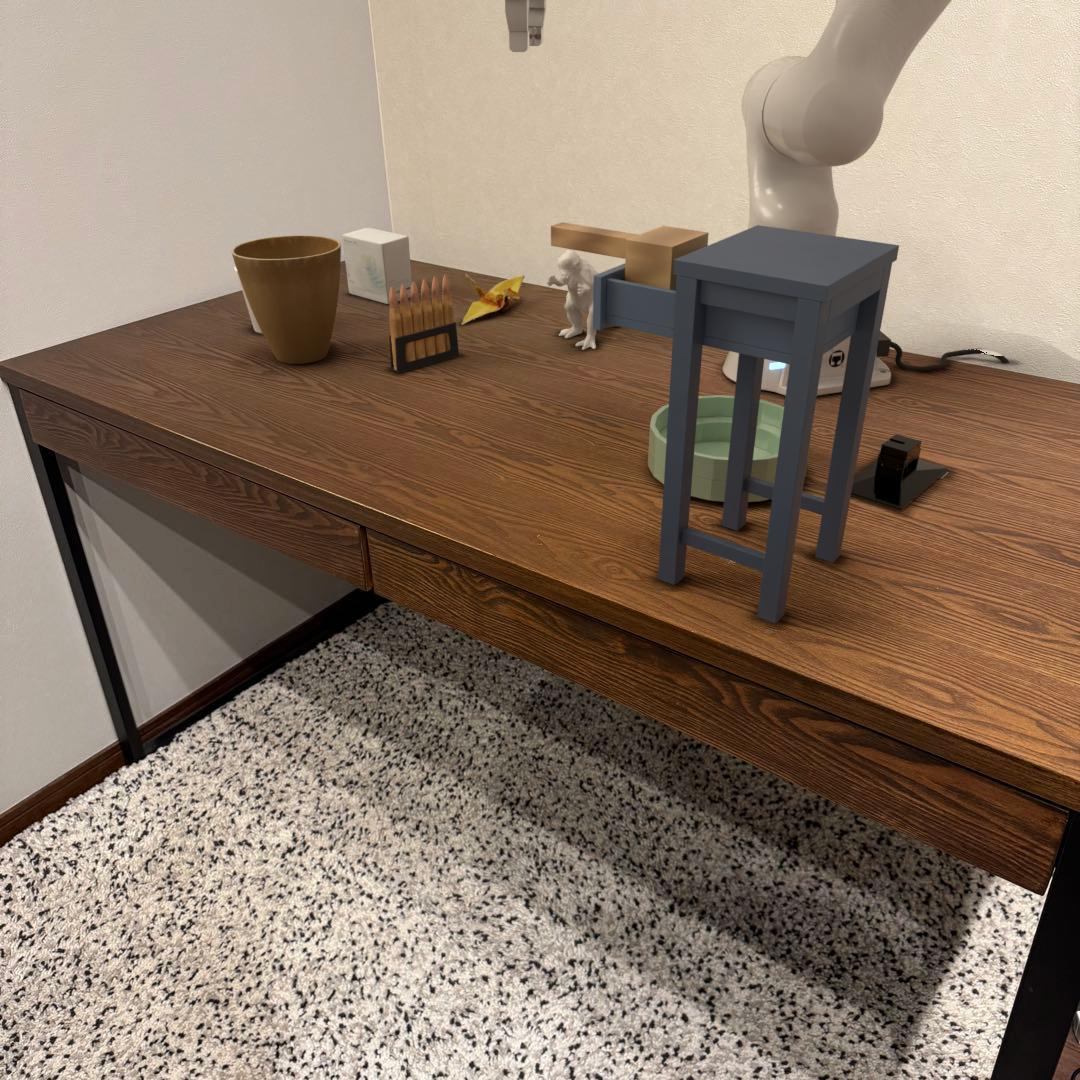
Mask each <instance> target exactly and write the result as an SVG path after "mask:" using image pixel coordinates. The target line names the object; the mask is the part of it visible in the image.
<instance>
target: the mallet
mask: <svg viewBox="0 0 1080 1080" xmlns="http://www.w3.org/2000/svg"><path fill="white" fill-rule="evenodd" d="M708 245H709V232H708V231H701V230H695V229H690V228H689V229H687V228H681V227H675V226H668V225H662V226H659V227H656V228H653V229H651V230H647V231H645V232H642V233H640V234H638V233H634V232H633V233H631V232H626V231H620V230H612V229H607V228H601V227H595V226H588V225H582V224H575V223H570V222H565V221H564V222H563V221H562V222H559V223H556V224H553V225H550V246H551V247H556V248H562V249H567V250H573V251H579V252H583V253H584V252H585V253H589V254H594V255H595V254H596V255H601V256H607V257H611V258H616V259H617V258H618V259H624V261H625V262H624V264H625V281H628V282H633V283H638V284H643V285H649V286H654V287H659V288H664V289H669V290H675V291H676V280H677V276H676V275H673V273H674V260H675V259H677V258H679V257H682V256H684V255H687V254H689V253H691V252H694V251H696V250H699V249H701V248H704V247H706V246H708Z"/></svg>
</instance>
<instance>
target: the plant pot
mask: <svg viewBox="0 0 1080 1080" xmlns="http://www.w3.org/2000/svg"><path fill="white" fill-rule="evenodd" d="M230 253H231V255H232V258H233V262H234V265H235V266H236V268H237V271H238V274H239V277H240V281H241V283H242V286H243V289H244V292H245V294H246V297H247V300H248V302H249V305H250V307H251V309H252V312H253V314H254V316H255V319H256V321H257V323H258V325H259V327H260V329H261V331H262V333H261V334H262V335H263V337H264V339H265V341H266V343H267V344H268V347H269V349H270V350H271V352H272V354H273V356H274V358H276V360H277V361H278V362H280V363H283V364H289V365H303V364H304V365H305V364H310V363H311V364H312V363H316V362H318V361H322V360H323V359H325V358H326V357H327V356H328V352H329V349H330V345H331V341H332V337H333V336H332V335H333V332H334V328H335V327H334V326H335V322H336V317H337V308H338V301H339V295H340V281H341V264H342V263H341V262H342V260H341V258H342V244H341V241H339V240H337V239H335V238H332V237H327V236H321V235H305V234H301V235H295V234H294V235H293V234H292V235H279V236H271V237H270V236H269V237H263V238H257V239H252V240H249V241H245V242H242V243H240V244H237V245H236V246H235V245H234V247H233V248H232V249H231V252H230ZM240 281H239V282H240Z"/></svg>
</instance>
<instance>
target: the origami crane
mask: <svg viewBox="0 0 1080 1080" xmlns="http://www.w3.org/2000/svg"><path fill="white" fill-rule="evenodd" d="M464 277H465V280H466V281H467V282H468V283H469V285H470V288H471V289H472V291H473V292H474V293H475V294H477V296H478V297H479V298H480V299H479V300H477V301H473V302H472V303H471V304H470V306H469V308H468V310H467V312H466V313H465V315H464V316H463V319H462V322H461V325H465V324H467V323H468V322H470V321H474V320H476V318H480V317H483V316H484V315H488V314H489V313H493V312H497V311H499V310H501V309H502V308H503V309H502V310H501V313H505V312H507V311H508V309H509V308H510V306H511V303H512V301H514V302H518V301H520V300H521V299H522V296H521V294H519V290H520V288H521V286H522V285H523V281H524V280H525V277H526V275H524V274H523V275H519V276H515V277H511V278H508V279H505V280H503V281H500V282H499V283H496V284H495V285H494V286H493V287H491V288H490V289H489V291H488V292H485V291H484V290H483V288H482V287H481V286H479V285H478V283H476V282H477V281H475V280H474V279H475V277H474V276H472V277H473V279H472V278H471V277H470V275H469V274H468V273H467V272H465V273H464Z"/></svg>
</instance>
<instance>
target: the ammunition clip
mask: <svg viewBox="0 0 1080 1080" xmlns="http://www.w3.org/2000/svg"><path fill="white" fill-rule="evenodd" d="M420 298H421V300H420ZM388 305H389V316H388V317H389V318H388V319H389V320H388V321H389V331H390V334H388V339H389V340H388V341H389V355H390V356H389V357H390V358H389V359H390V370H392V371H394V372H395V373H398V374H402V373H405V372H409V371H412V370H415V369H418V368H422V367H426V366H429V365H430V366H431V365H433V364H436V363H440V362H444V361H447V360H451V359H454V358H457V357H459V356H460V351H459V341H458V332H457V331H458V329H457V322H455V316H454V314H455V313H454V303H453V300H452V293H451V285H450V280H449V277H448V275H447V274H446V273H444V274H443V278H442V283H441V288H440V285H439V281H438V278H437V277H436V276H433V279H432V282H431V296H430V289H429V285H428V282H427V280H426V279H425V278H423V279H422V282H421V287H420V294H419V290H418V286H417V284H416V282H415V280H412V286H411V297H410V298H408V294H407V290H406V287H405V285H404V284H402V286H401V290H400V301H398V300H397V295H396V292H395V289H394V287H393V286H391V289H390V294H389V304H388Z"/></svg>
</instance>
